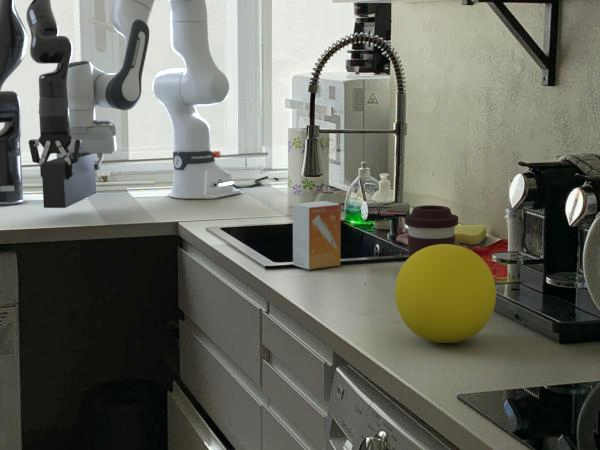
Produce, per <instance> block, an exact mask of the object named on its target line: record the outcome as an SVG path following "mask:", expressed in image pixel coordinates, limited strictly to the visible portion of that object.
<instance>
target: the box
mask: <svg viewBox="0 0 600 450" xmlns="http://www.w3.org/2000/svg"><path fill="white" fill-rule="evenodd" d="M95 155H96V154H81V159H80V161H79V162H76V163H74V165H73V167H74V176H73V177H72V179H67V172H66V165H67V163H66V161H65V159H64V158H63V157H59V158H57V157H56V158H53V159H51V160H47V162H44V163H42V177H41V181H42V199H43V200H42V201H43V209H66V208H68V207H71V206H73V205H75V204H77V203H79V202H81V201H84V200H85V199H87V198H89V197H91V196H93V195H95V194H97V180H96V170H94V164H95V163H96V157H95ZM71 157H72V159H73V157H74V154H71Z"/></svg>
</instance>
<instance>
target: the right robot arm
mask: <svg viewBox="0 0 600 450" xmlns="http://www.w3.org/2000/svg"><path fill="white" fill-rule="evenodd" d="M155 1H156V0H112V3H111V7H110V11H109V21H110V24H111V26H112V27H113V29H114V30H115V31H116V32H117V33H118V34H120V35H121V36H122V37H123V38H124V42H125V45H124V50H123V55H122V59H121V65H120V68H119V69H118V71H116V72H115V73H109V72H108V73H107V72H106V71H102V70H100V69H98V68H97V67H96V66H94V65H93V64H92V63H91V62H90V61H89V60H80V61H73V62H70V64H69V68H68V74H67V98H68V104H69V123H70V136H71V138H72V139H77V140H78V139H82V141H83V142H82V150H81V154H94V155H96V156H97V158H98V159H97V162H95V164H94V170H95V171H100V170H101V169H102V165H101V164H102V162H103V160H104V159H105V155H112V154H115V153H116V151H117V149H118V147H117V139H116V134H117V126H116V124H115V123H114V122H113V121H111V120H109V119H107V120H106V119H105V120H99V119H97V120H96V107H98V108H106V109H108V108H109V109H116V110H120V111H129V110H132V109H133V108H135V107H136V106H137V105H138V103H139V101H140V99H141V96H142V80H143V79H142V77H143V71H144V67H145V61H146V57H147V52H148V47H149V42H150V28H149V22H150V18H151V17H150V16H151V14H152V11H153V7H154V3H155ZM168 2H169V5H170V46H171V49H172V51H173V52H174V53H175V54H177V55H178V56H180V58H182V60H183V62H184V66H185V68H170V69H166V70H163V71H159V72H158V73H156V75H155V76H154V78H153V82H152V92H153V96H154V97H155V99H156V100H157V101H158V102H159V103H160V104H161V105H162V106H163V107H164V108H165V110H166V112H167V114H168V117H169V119H170V122H171V126H172V133H173V135H172V136H173V150H172V164H173V180H172V185H171V191H170V194H169V196H170V197H171V198H175V199H186V200H192V199H195V200H197V199H198V200H199V199H208V200H209V199H211V200H212V199H217V198H223V197H227V196H232V195H233V196H234V195H238V194H241V190H240V189H247V188H255V187H258V186H260V185H261V182H262V181H263V180H267V179H269V178H268V176H269V175H266V176H264V177H260V178H258V179H255V180H254V183H253V184H250V185H246V186H239V185H235V181H233V178H232V175H231V173H230V172H229V171H227V170H226V169H225V168H223V167H222V166H221V165H219V163H217V162H216V159H215V158H218V159H219V158H221V156H222V153H221V151H220V150H214V151H212V150H211V130H210V125H209V123H208V122H207V121H206V120H205V119H204V118H202V117H201V116H200V114H199V113H198V110H197V108H196V106H213V105H217V104H221V103H223V102H224V101H225V100H226V99H227V98H228V95H229V92H230V82H229V79H228V77H227V76H226V74H225V73H224V72H223V71H222V70H220V69H219V67H218V66H217V65H216V63H215V61H214V59H213V56H212V55H211V51H210V46H209V45H210V44H209V31H208V28H209V27H208V26H209V25H208V10H207V3H206V0H168ZM42 148H43V147H42ZM74 148H75V147H73V144H72V143H71V144H70V145H69V147H68V149H69V151H70V153H71V154H74ZM43 150H44V148H43ZM53 154H55V155H56V158H59V157H62V155H61V154H57V153H52V155H53ZM272 179H273V180H275V181H279V179H278V178H277V177H276V178H272Z"/></svg>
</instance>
